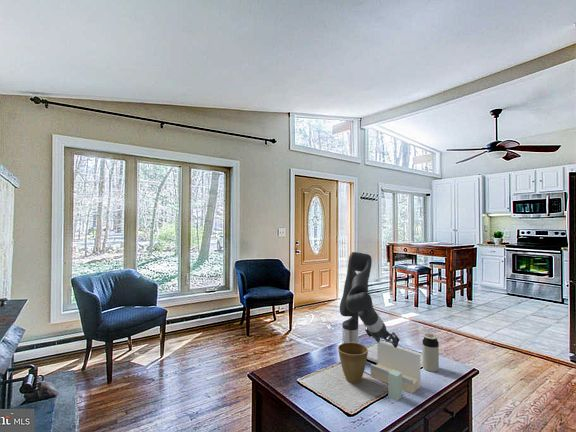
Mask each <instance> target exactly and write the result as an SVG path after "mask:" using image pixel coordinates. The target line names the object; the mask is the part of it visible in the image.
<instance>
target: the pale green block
mask: <svg viewBox="0 0 576 432" xmlns="http://www.w3.org/2000/svg"><path fill="white" fill-rule="evenodd" d="M387 387H388V388H387V389H388V391H387V393H388V397H389V398H391V399H393V400H396V401H398V400H400V399H401V398H402V397H403V390H402V372H399V371H396V370H394V369H393V370H391V371H390V372H389V373H388V383H387Z"/></svg>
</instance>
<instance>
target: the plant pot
mask: <svg viewBox="0 0 576 432" xmlns="http://www.w3.org/2000/svg"><path fill="white" fill-rule="evenodd" d="M337 351H338V358H339V361H340V366H341V368H342V372H343V374H344V377H345V380H346V381H347V382H349V383H351V384H358V383H360V382H361V381H362V378H363V375H364V372H365V369H366V364H367V360H368V359H367V358H368V352H369V348H368V347H367V346H366V345H365V344H361V343H359V342H358V343H343V344H342V343H341V344H339V345H338V348H337Z"/></svg>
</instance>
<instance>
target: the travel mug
mask: <svg viewBox="0 0 576 432" xmlns="http://www.w3.org/2000/svg"><path fill="white" fill-rule="evenodd" d="M422 336H423V339H422V368H423V369H424V370H426V371H428V372H430V373H434V372H435V373H436V372H438V371H439V367H440V366H439V365H440V364H439V362H440V361H439V359H440V357H439V353H440V352H439V351H440V349H439V347H440V346H439V340H438V338H439V336H438V335H437V334H434V333H431V332H425V333H423V334H422Z"/></svg>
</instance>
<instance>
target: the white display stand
mask: <svg viewBox="0 0 576 432" xmlns="http://www.w3.org/2000/svg"><path fill="white" fill-rule="evenodd" d="M393 369H394V370H396V371H399V372H402V391H405V392H407V393H410V394H414V393H415V392H416V391H417V390H418V389H419V388H420V387H421V353H420V352H416V351H413V350H410V349H407V348H404V347H401V346H399V345H398V346H397V348H395V347H394V346H393V345H392V343H390V342H387V341H384V340H383V341H382V340H380V342H379V343H378V342H377V364H373V363H370V377H372V378H374V379H376V380H379V381H381V382H384V383H386V384H388V373H389V372H390V371H391V370H393Z"/></svg>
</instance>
